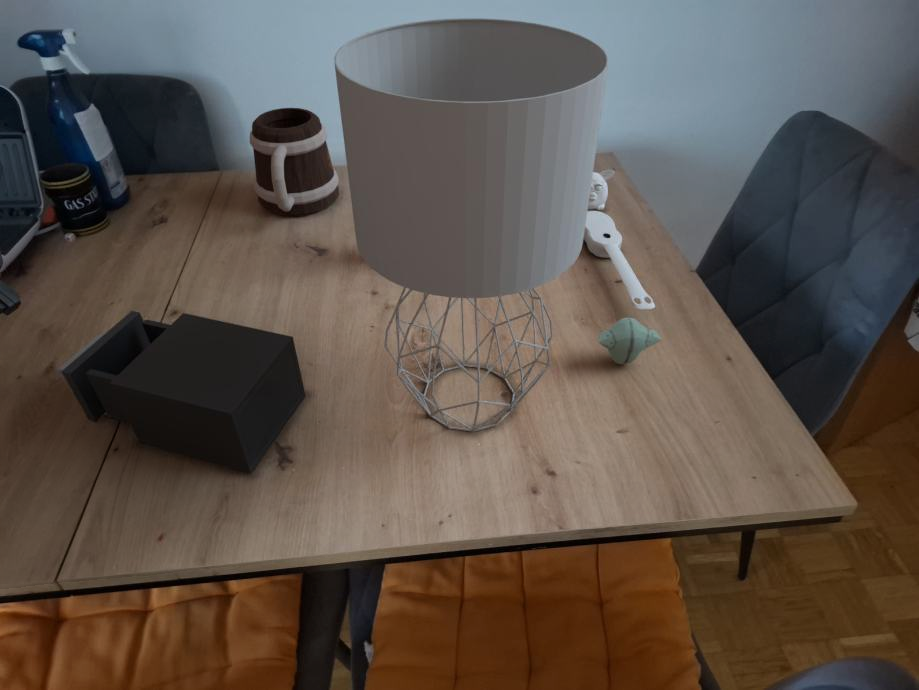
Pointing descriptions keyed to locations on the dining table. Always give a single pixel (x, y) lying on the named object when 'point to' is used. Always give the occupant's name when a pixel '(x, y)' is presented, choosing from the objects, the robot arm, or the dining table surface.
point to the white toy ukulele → (613, 254)
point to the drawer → (108, 364)
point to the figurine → (599, 189)
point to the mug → (292, 163)
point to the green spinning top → (627, 340)
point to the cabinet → (212, 391)
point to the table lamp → (470, 166)
